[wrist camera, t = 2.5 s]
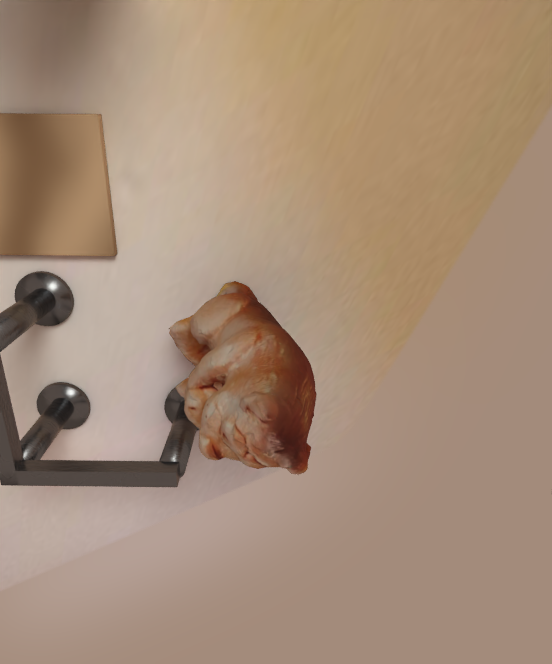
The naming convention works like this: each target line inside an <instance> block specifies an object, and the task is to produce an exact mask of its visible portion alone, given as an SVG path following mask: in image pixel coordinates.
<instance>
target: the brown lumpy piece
mask: <svg viewBox="0 0 552 664" xmlns="http://www.w3.org/2000/svg"><path fill="white" fill-rule="evenodd" d="M169 329H170V332H169V334H170V335H171V336H172V338H173V339H174V341H175V344H176V346H177V347H178V348H179V349H180V350H181V352H182V353H183V355H184V356H185V357H186V358H187V359H188V360H189V361H190V362H192V363H193V364H194V366H195V367H196V368H195V369H194V370H193V371H192V372H191V374H190V376H189V378H187V379H185V380H184V381H182V382H181V383H180V384H178V385H177V386H176V390H177V392H178V393H179V394H180V395H181V396H182V397H184V399H185V405H184V411H185V414H186V416H187V418H188V419H189V420H190V421H191V422H192V423H193V424H194V425H195V426H196V427H198V428H199V429H200V431H199V448H200V451H201V453H202V454H203V455H204V456H205V457H206V458H208V459H212V460H220V459H222V458H224V457H226V458H229V459H232V460H238V461H241V462H243V463H244V464H245V465H247V466H249V467H253V468H257V469H259V468H264V467H282V468H286V469H287V470H288V471H289V472H290V473H291V474H301V473H304V472H305V471H306V470H307V466H308V459H309V456H310V450H311V447H310V446H309V445H308V444H307V443H306V442H307V437H308V433H309V429H310V426H311V423H312V418H313V416H314V408H315V400H316V392H315V381H314V376H313V372H312V368H311V365H310V363H309V361H308V359H307V357H306V356H305V354H304V353H303V351H302V350H301V348H300V347H299V346H298V345H297V344H296V342H295V341H294V340H293V339H292V337H291V336H290V335H289V334H288V333H287V332H286V331H285V330H284V329H283V328H282V327H281V326H280V324H279V323H278V322H277V321H276V319H275V318H274V317H273V316H272V315H271V313H270V312H269V311H268V310H267V309H266V308H265V307H264V306H263V305H262V304H261V303H259V302H258V300H257V298H256V297H255V295H254V294H253V292H252V291H251V290H250V288H249V287H247V286H246V285H244V284H242V283H239V282H236V281H234V282H230V283H226V284H225V285H224V286H223V287H222V289H221V290H220V292H219V294H218V295H217V297H214V298H212V299H211V300H209V301H208V302H206V303H205V304H204V305H203V306H202V307H201V308H200V309H199V310H198V311H197V312H196V313H195V314H194V315H192V316H191V317H189V318H186V319H183V320H180V321H178V322H176V323H175V324H174V325H173V326H171V327H170V328H169Z"/></svg>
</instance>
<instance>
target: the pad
mask: <svg viewBox="0 0 552 664" xmlns="http://www.w3.org/2000/svg"><path fill="white" fill-rule="evenodd" d="M116 254H117V246H116V238H115V229H114V221H113V212H112V203H111V195H110V186H109V178H108V169H107V160H106V152H105V143H104V135H103V126H102V118H101V114H7V113H0V255H77V256H115V255H116Z"/></svg>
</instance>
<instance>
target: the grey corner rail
mask: <svg viewBox="0 0 552 664" xmlns="http://www.w3.org/2000/svg"><path fill="white" fill-rule="evenodd" d="M15 301H16V303H15V304H13V305H12V306H10V307H9V308H7V309H6V310H4V311H3V312H1V313H0V352H1V351H2V350H3V349H4V348H6V347H7V346H8V345H9V344H11V343H12V342H13V341H14V340H15V339H17V338H18V337H19V336H20V335H22V334H23V333H24V332H25V331H27V330H28V329H29V328H30V327H31V326H33V325H34V324H35V323H36V324H39V325H43V326H54V325H57V324H60V323H61V322H63V321H64V320H65V319H66V318H67V317H68V316H69V315H70V314H71V312H72V310H73V306H74V298H73V294H72V292H71V290H70V288H69V286H68V285H67V284H66V282H65V281H63V280H62V279H61V278H60V277H58V276H57V275H55V274H52V273H49V272H44V271H38V272H33V273H30V274H28V275H27V276H25V277H24V278H22V279H21V280H20V281H19V283H18V284H17V286H16V289H15ZM184 405H185V399H184V397H182V396H181V395H180V394H179V393H178V392H177V390H176V387H175V388H174V389H173V390H172V391H171V392H170V393H169V394H168V396H167V399H166V401H165V413H166V415H167V417H168V419H169V420H170V421H171V422H172V423H173V424H172V427H171V430H170V433H169V436H168V438H167V441H166V444H165V447H164V450H163V452H162V455H161V458H160V461H73V460H40V459H41V457H42V456H43V454H44V453H45V452H46V450H47V449H48V447H49V446H50V445H51V443H52V442H53V440H54V439H55V438H56V436H57V435H58V433H59V432H60V431H61V429H73V428H76V427H79V426H80V425H82V424H83V423H84V422H85V420H86V419H87V417H88V416H89V413H90V402H89V399H88V398H87V396H86V394H85V393H84V392H83V391H82V390H81V389H79V388H78V387H76V386H74V385H72V384H69V383H64V382H57V383H53V384H50V385H48V386H47V387H45V388H44V389H43V391H42V392H41V393H40V394H39V396H38V399H37V408H38V411H39V413H40V415H41V416H40V417H39V419H38V420H37V421H36V422H35V424H34V425H33V426H32V427H31V428H30V430H29V431H28V432H27V433H26V434H25V436H24V437H23V438H22V439H21V441H20V440H19V435H18V431H17V426H16V422H15V417H14V413H13V409H12V404H11V400H10V395H9V391H8V387H7V382H6V378H5V373H4V369H3V364H2V360H1V356H0V481H1V485H28V486H118V487H177V486H178V483H179V479H180V478H181V477H182V476H183V475H184V473H185V469H186V466H187V462H188V458H189V455H190V451H191V447H192V444H193V440H194V436H195V433H196V430H200V429H199V428H198V427H196V426H195V425H194V424H193V423H192V422H191V421H190V420H189V419H188V418H187V416H186V414H185V411H184Z"/></svg>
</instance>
